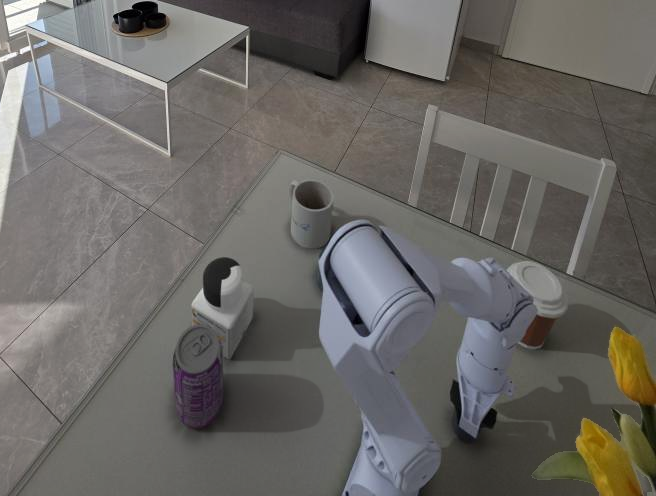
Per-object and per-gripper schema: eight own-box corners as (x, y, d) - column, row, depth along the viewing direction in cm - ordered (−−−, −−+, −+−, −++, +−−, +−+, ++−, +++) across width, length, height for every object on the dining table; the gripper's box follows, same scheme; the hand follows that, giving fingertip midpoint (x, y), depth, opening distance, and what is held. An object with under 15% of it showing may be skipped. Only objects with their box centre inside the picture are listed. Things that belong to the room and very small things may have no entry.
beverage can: (201, 362, 69) (199, 310, 65) (232, 397, 65) (232, 344, 61) (165, 404, 64) (161, 350, 60) (197, 445, 60) (195, 390, 56)
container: (191, 336, 73) (189, 280, 69) (217, 296, 79) (216, 243, 75) (229, 361, 69) (229, 304, 65) (253, 317, 76) (254, 263, 72)
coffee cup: (546, 371, 69) (565, 320, 66) (487, 329, 75) (501, 280, 71) (558, 328, 76) (575, 278, 72) (502, 292, 82) (516, 245, 78)
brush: (475, 450, 60) (487, 408, 57) (448, 430, 62) (459, 389, 59) (480, 423, 63) (492, 382, 60) (454, 405, 65) (465, 365, 62)
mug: (337, 242, 91) (340, 205, 88) (299, 253, 88) (302, 215, 85) (313, 198, 102) (316, 164, 99) (279, 207, 99) (281, 172, 96)
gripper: (513, 425, 49) (491, 493, 53) (527, 318, 61) (507, 381, 65) (449, 382, 53) (433, 448, 57) (473, 288, 64) (458, 350, 69)
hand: (469, 410), depth 61 cm, fingers open, 4 cm apart
